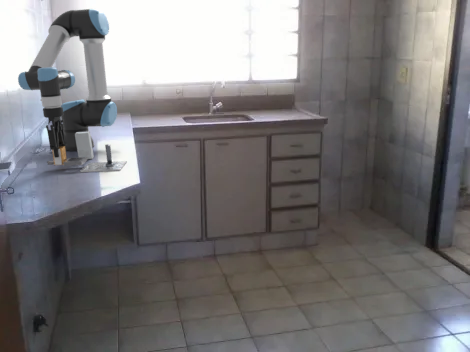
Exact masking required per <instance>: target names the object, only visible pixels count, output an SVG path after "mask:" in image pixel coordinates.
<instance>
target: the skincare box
mask: <svg viewBox="0 0 470 352" xmlns="http://www.w3.org/2000/svg"><path fill="white" fill-rule="evenodd" d="M90 135H91V131H88V132H76V133H75V139H76V145H77V150H76V151H77V157H87V160H93V158H94V157H95V156H94V155H95V154H94V150H93V147H92V142H91V137H92V136H90Z"/></svg>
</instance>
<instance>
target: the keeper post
mask: <svg viewBox="0 0 470 352" xmlns="http://www.w3.org/2000/svg"><path fill="white" fill-rule="evenodd" d="M104 145H105V147H104V148H105V154H106V161H99V162H89V163H87V164H86V165H85V166H84V167H83V168H81V170H80V173H92V172H93V173H94V172H95V173H96V172H115V171H116V172H117V171H118V172H119V170H120V171H121V170H122V169H123V168H124V166H125V165H126V164H127V163H128V162H127V161H125V160H124V161H113V158H112V157H113V156H112V150H111V149H112V148H111V144H108V143H107V144H104Z"/></svg>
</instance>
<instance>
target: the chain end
mask: <svg viewBox="0 0 470 352" xmlns="http://www.w3.org/2000/svg"><path fill="white" fill-rule="evenodd" d="M59 149H60V151H61V158H62V165H61V166H64V167H70V166H71V167H72V166H83V165H84V164H85V163H86V162H87V161H88V159H87V157H78V156H76V157H75V156H74V157H68V158H67V151H66V150H65V146H59ZM51 152H52V158H53V160H49V161H46V163H47V165H50V166H51V165H53V166H56V165H55V160H54V154H53V150H51Z"/></svg>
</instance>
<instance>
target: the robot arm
mask: <svg viewBox="0 0 470 352" xmlns="http://www.w3.org/2000/svg"><path fill="white" fill-rule="evenodd" d="M109 24H110V23H109V21H108V17H107V16H106V14H105V13H104V11H103V10H101V9H99V8H88V9H75V10H74V9H71V10H67V11H65V12H63V13H61V14H60V15H59V16H58V17H57V18H56V19H54V21H52V23H51V24H50V26H49V28H48V31H47V32H48V35H47V37H46V39H45V40H44V41H43V44H42V45H41V47H40V49H39V51H38V53H37V55H36V56H35V58H34V60H33V62H32V63H31V65H30V68H29V69H28V71H21V72H20V73H19V75H18V77H17V80H18V81H17V82H18V85H19V86H20V89H22V90H23V91H40V101H41V104H42V105H41V106H42V107H43V108H42V112H43V117H44V118H46V119H48V123H47V124H46V125H45V128H46V131H47V136H48V138H47V139H48V142H49V143H48V144H49V149H50V150H51V151H52V150H53V153H52V155H53V154H54V160H55V165H54V166H63V165H62V158H61V151H60V149H59V146H65V150H66V152H67V151H69V152H74V151H77V145H76V139H75V133H76V132H88V131H89V127H93V128H95V127H98V128H99V127H102V128H105V127H111V126H113V125H114V124H115V122H116V119H117V117H118V107H117V104H116V103H115V102H114V101H112V97H111V96H110V95H109V94H108V87H107V78H106V77H107V76H106V68H105V65H106V64H105V57H104V46H103V43H104V42H105V40H106V36H107V35H108V34H109V32H110V25H109ZM74 37H78V39H79V41H80V42H81V43H82V44H83V52H84V54H83V55H84V62H85V73H86V79H87V80H86V81H87V87H88V88H87V89H88V96H87V98H86V99H84V98H83V99H78V100H77V99H76V100H71V101H66V102H63V101H62V95H61V90H65V89H67V90H68V89H70V88H72V87H73V86H74V85H75V83H76V77H75V75H74V73H73V72H72V71H71V70H67V69H61V70H58V68H57V67H55V66H54V65H55V63H56V60H57V59H58V57H59V55H60V53H61V51H62V49H63V47H64V45H65V43H66V44H67V43H68V42H69V40H70V39H71V38H74ZM85 100H86V101H85ZM90 136H91V134H90ZM91 142H92V148H94V146H95V143H94V140H93V137H92V136H91ZM54 160H53V161H54Z"/></svg>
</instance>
